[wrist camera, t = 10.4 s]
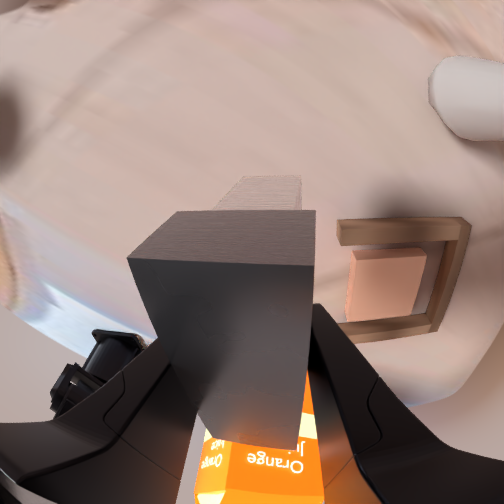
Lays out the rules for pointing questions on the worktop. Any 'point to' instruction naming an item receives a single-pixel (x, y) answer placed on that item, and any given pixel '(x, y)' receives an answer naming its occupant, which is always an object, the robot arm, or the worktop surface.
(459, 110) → the salt shaker
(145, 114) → the worktop surface
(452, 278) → the bay
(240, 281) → the grey block
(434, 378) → the worktop surface
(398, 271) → the tile
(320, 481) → the orange juice
